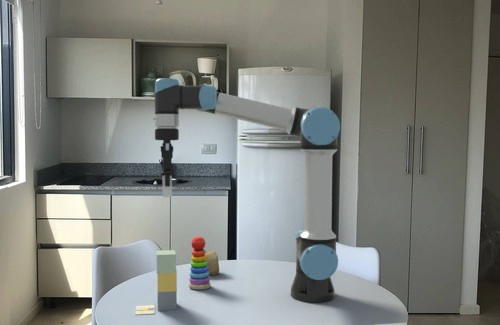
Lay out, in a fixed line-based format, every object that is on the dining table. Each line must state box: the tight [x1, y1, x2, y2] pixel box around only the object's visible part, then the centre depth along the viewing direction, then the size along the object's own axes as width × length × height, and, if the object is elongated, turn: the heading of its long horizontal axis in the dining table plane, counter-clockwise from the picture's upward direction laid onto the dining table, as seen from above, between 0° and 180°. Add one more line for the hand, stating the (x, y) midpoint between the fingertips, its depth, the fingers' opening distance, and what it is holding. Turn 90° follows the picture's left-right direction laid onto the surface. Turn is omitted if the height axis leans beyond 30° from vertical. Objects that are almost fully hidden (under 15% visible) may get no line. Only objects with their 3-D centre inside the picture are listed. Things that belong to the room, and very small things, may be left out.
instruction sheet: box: [134, 304, 156, 316], centre depth 168 cm, size 6×8×1 cm
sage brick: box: [156, 249, 177, 275], centre depth 170 cm, size 6×6×6 cm
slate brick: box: [157, 291, 178, 311], centre depth 171 cm, size 6×6×6 cm
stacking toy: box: [188, 236, 211, 291], centre depth 192 cm, size 8×8×19 cm
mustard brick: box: [157, 270, 178, 293], centre depth 170 cm, size 6×6×6 cm
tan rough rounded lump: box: [205, 250, 220, 276], centre depth 210 cm, size 10×10×10 cm
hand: (167, 194), depth 169 cm, fingers open, 13 cm apart
